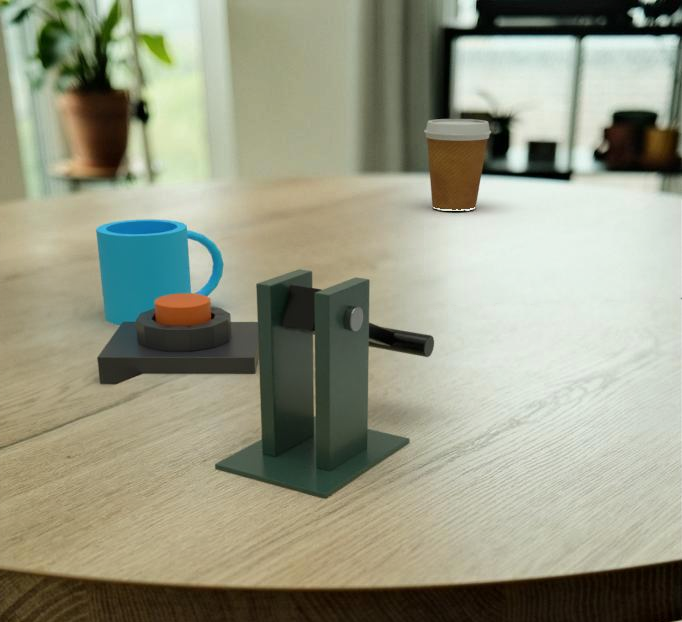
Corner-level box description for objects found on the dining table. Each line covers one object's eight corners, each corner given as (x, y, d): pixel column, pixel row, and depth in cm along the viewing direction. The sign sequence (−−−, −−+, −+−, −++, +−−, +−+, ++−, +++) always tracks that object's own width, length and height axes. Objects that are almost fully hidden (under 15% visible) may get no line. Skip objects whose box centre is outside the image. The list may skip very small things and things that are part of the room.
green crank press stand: (306, 431, 70) (304, 257, 64) (409, 455, 66) (415, 273, 61) (215, 482, 62) (204, 290, 57) (325, 513, 58) (324, 310, 53)
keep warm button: (151, 329, 79) (149, 307, 78) (160, 314, 83) (159, 293, 82) (208, 329, 79) (206, 307, 78) (214, 314, 83) (213, 293, 82)
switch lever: (353, 351, 70) (360, 317, 70) (429, 365, 68) (437, 330, 67) (254, 320, 60) (263, 280, 60) (340, 336, 57) (350, 293, 57)
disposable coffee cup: (494, 213, 146) (500, 124, 140) (429, 215, 144) (433, 125, 139) (476, 202, 154) (481, 118, 149) (415, 204, 153) (417, 119, 148)
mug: (123, 332, 91) (114, 239, 88) (93, 311, 97) (83, 224, 94) (243, 313, 97) (239, 226, 93) (207, 295, 103) (202, 212, 100)
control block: (100, 384, 78) (94, 334, 77) (125, 346, 87) (120, 300, 86) (255, 384, 78) (253, 334, 77) (264, 346, 87) (263, 300, 86)
